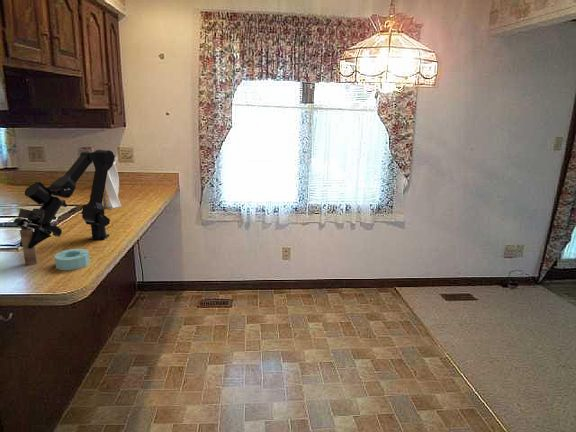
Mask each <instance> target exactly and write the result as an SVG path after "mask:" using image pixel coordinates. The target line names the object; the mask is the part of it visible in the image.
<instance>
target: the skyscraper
mask: <svg viewBox="0 0 576 432" xmlns="http://www.w3.org/2000/svg"><path fill="white" fill-rule="evenodd" d="M116 163H117V157H115V159H114V162H113V165H112V167H111V168H110V169H109V170H108V172H107V178H106V183H105V191H106V192H104V195H103V200H102V205H103V207H104V209H107V210H114V209H118V208H122V205H121V202H120V199H119V190H120V178H119V173H118V169H117V166H116ZM106 194H107V197H108V199H106Z"/></svg>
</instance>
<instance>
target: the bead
mask: <svg viewBox="0 0 576 432" xmlns="http://www.w3.org/2000/svg"><path fill="white" fill-rule="evenodd" d="M54 262H55V263H54V264H55V269H56V270H57V269H58V270H60V271H74V270H79V269H82V268H85V267H87V266H89V265H90V264H91V260H90V253H89V250H87V249H85V248H73V249H65V250H62V251H59V252H58V253H56V254H54Z"/></svg>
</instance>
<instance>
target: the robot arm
mask: <svg viewBox="0 0 576 432" xmlns="http://www.w3.org/2000/svg"><path fill="white" fill-rule="evenodd" d="M115 156H116V155H115V153H114V152H113V151H112V150H110V149H109V150H108V149H106V150H105V149H96V150H94V151H82V152H81V153H80V155H79V156H78V158H77V159H76V161H74V163H73V164H72V165H71V167H70V168H69V169H68V170H67V171H66V173H65V174H64V175H63V176H61V177H59V178H56V179H55V180H54V181H53V182H52V183H51V184H50V186H47V187H46V186H45V185H44V183H42V182H41V181H35V183H33V184H31V185H29V186H28V187H26V188H25V190H24V196H26V197H27V198H28V199H30V200H31V201H32V202H33V203H36V204H37V205H41V206H40V208H33V209H24V208H20V209H19V212H18V217H17V218H15V219H14V220H13V222H12V224H13V225H14V226H17V227H18V228H20V230H22V229H32V235H33V237H32V239H31V241H30V243H29V245H28V248H29V249H31V248H32V247H36V246H37V245H39V244H40V243H42V242H43V241H45V240H46V239H48V238H51V237H52V235H53V236H54V237H58V238H59V237H61V235H62V233H63V229H62V228H60V227H59V226H57V225H56V224H55V223H52V221H53V220H54V221H56V219H57V217H56V215H57V213H58V211H59V210H60V209H61V207H62V208H67V203H66V200H64V199H65V198H66V199H68V198H71V197H72V195H73V194H74V192H75V190H76V187H77V185H76V184H77V182H78V180H79V179H80V178H81V177H82V176H83V174H84V173H85V172H86V171H87V169H88V168H89V166H90V165H91V164H93V166H94V175H93V181H92V186H91V189H90V190H91V191H90V196H89V197H90V198H89V201H88V203H86V204H83V205H82V211H81V213H80V215H81V218H82V219H83V220H84V222H85V224H86V225H89V226H90V228H91V236H90V237H89V238H88V240H94V241H96V240H97V241H98V240H99V241H101V240H103V241H104V240H105V239H107V238H108V237H110V234H109V233H107V229H106V227H107V226H108V225H110V224H111V223H110V221H111V219H110V218H109V217H107V216H106V215H105V208H104V205H103V195H104V193H105V190H106V187H105V183H106V178H107V172H108V170H109V169H110V168H111V167H112V165H113V162H115V160H116V159H115V158H116V157H115ZM60 198H62V199H60ZM63 198H64V199H63ZM51 234H52V235H51ZM19 247H21V248H23V246H22V241H21V240H20V243H19Z"/></svg>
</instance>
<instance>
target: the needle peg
mask: <svg viewBox="0 0 576 432" xmlns="http://www.w3.org/2000/svg"><path fill="white" fill-rule="evenodd" d="M19 234H20V242H21V241H22V246H23V247H22V251H23V257H24V262H25V265H26V266H33V265H35V264H37V263H38V261H37V260H38V259H37V253H36V248H35V247H36V246H34V247H32V248H31V249H29V248H28V245H29V243H30V241H31V239H32V237H33V235H32V229H20V230H19Z"/></svg>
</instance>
